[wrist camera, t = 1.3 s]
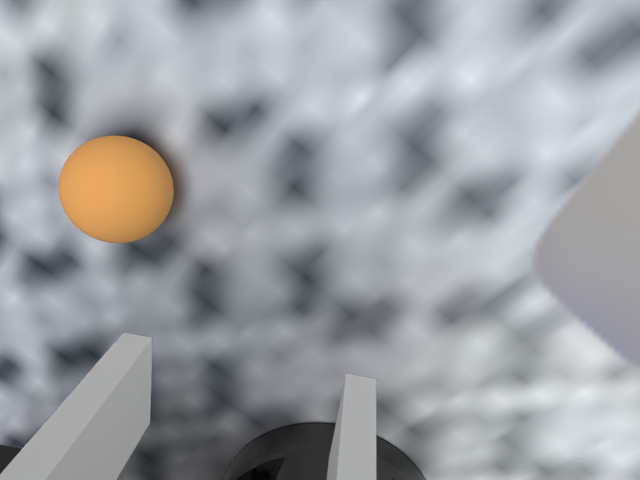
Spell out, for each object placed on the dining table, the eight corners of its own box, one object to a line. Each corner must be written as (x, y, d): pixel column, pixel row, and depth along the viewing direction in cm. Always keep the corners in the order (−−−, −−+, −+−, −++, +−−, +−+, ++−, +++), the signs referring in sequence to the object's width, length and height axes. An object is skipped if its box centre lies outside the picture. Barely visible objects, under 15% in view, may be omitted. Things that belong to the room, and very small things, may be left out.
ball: (185, 230, 30) (146, 268, 25) (94, 214, 30) (37, 249, 25) (190, 136, 28) (149, 157, 23) (93, 120, 28) (30, 137, 23)
